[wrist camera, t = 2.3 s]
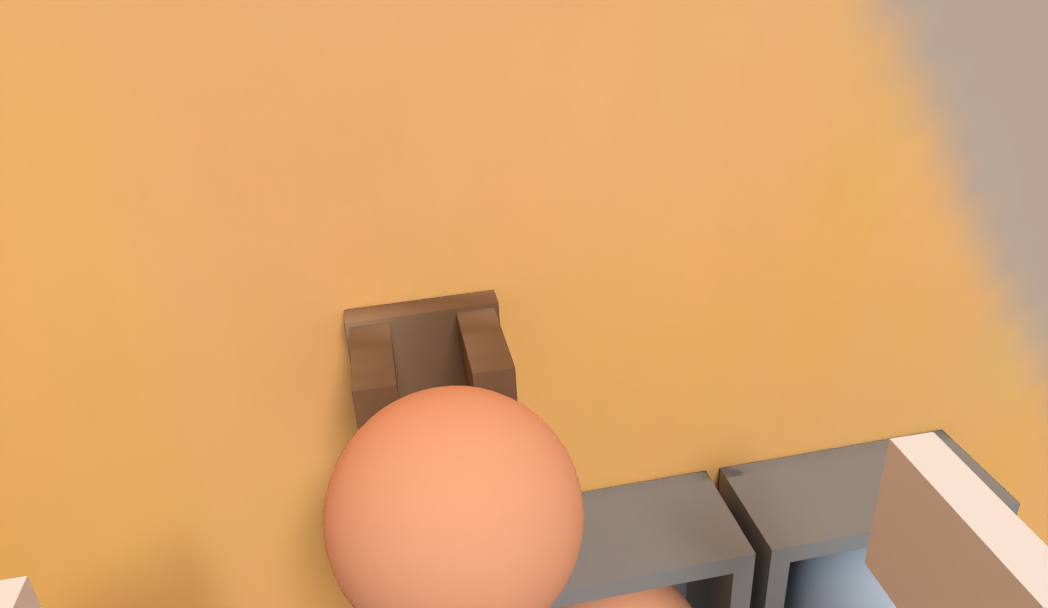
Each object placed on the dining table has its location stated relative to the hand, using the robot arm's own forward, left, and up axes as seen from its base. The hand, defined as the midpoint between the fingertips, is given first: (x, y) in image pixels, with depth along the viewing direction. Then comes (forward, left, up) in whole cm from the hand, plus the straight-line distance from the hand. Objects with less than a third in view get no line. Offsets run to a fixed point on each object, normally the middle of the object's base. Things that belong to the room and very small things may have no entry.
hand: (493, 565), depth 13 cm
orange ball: (0, 0, -2) cm, 2 cm away
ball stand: (0, 0, -6) cm, 6 cm away
